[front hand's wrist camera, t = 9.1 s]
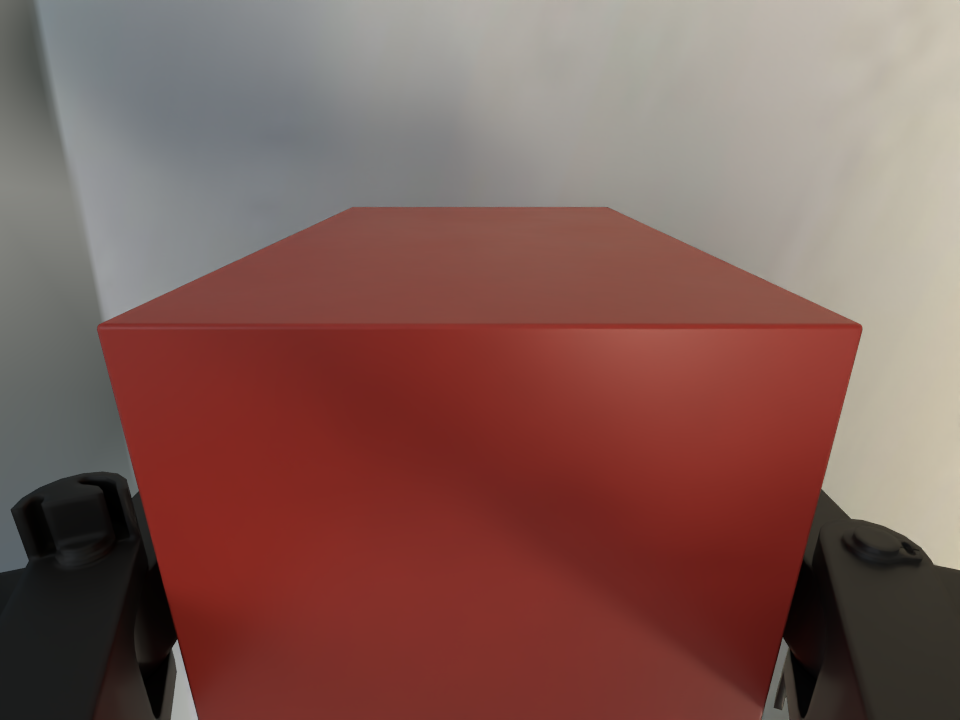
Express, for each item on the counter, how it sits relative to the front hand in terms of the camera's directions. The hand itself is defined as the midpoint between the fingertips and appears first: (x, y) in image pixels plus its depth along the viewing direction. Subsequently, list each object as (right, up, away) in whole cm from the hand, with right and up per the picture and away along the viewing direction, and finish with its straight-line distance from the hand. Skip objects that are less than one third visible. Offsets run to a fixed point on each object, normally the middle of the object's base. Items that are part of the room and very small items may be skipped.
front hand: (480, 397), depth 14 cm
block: (0, +1, +3) cm, 4 cm away
